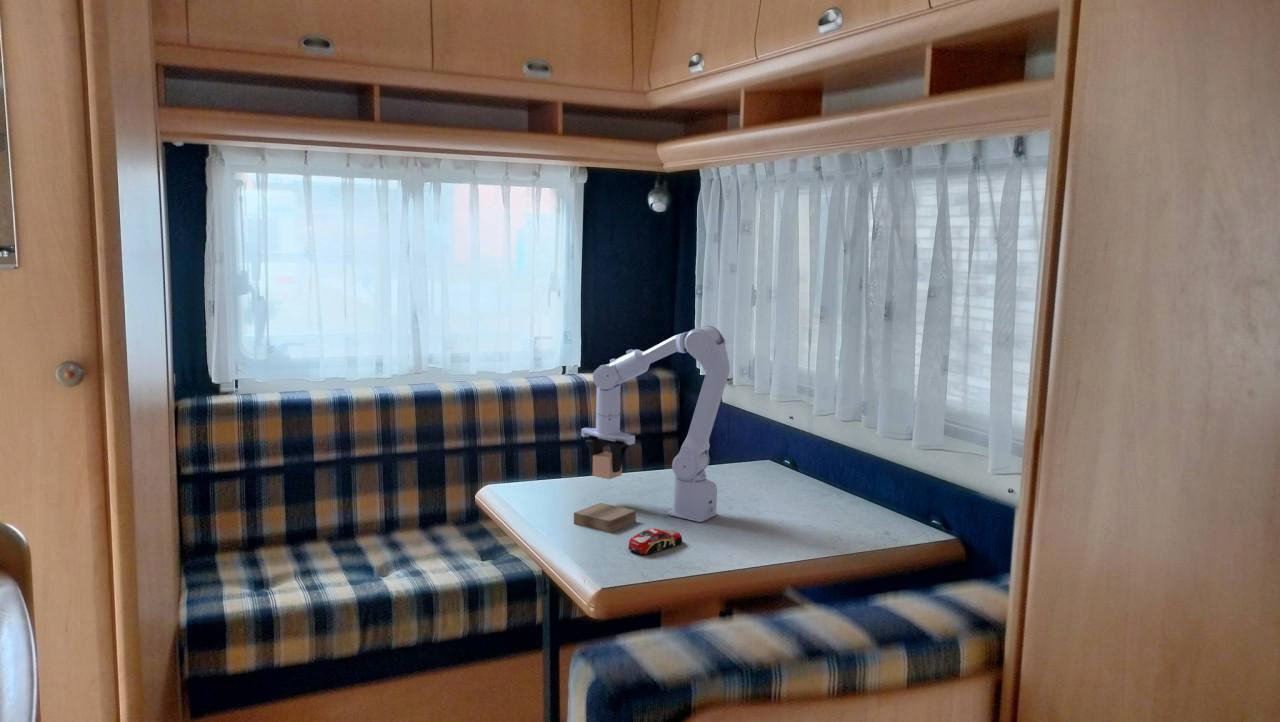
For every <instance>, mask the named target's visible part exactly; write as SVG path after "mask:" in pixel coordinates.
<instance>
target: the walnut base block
mask: <svg viewBox="0 0 1280 722" xmlns="http://www.w3.org/2000/svg"><path fill="white" fill-rule="evenodd" d="M636 522H637V510H635V509H629V508H626V507H621V506H617V505H612V504H608V503H603V502H599V503H597V504H594V505H591V506H588V507H586V508H582V509H580V510H578V511H574V512H573V525H577V526H582V527H585V528H589V529H594V530H598V531H602V532H606V533H612V532H615V531H616V530H620V529H622V528H624V527H626V526H628V525H629V526H630V525H631V524H633V523H636Z"/></svg>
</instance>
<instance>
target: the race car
mask: <svg viewBox="0 0 1280 722" xmlns="http://www.w3.org/2000/svg"><path fill="white" fill-rule="evenodd" d="M682 543H683V536H682V535H681V534H680V532H679V531H676V530H671V529H670V530H669V529H659V528H648V529H645V530H643V531H641V532H639V533H637V534H636V535H634V536H632V537H630V539H629V543H628V550H629V551H632V552H635V553H637V554H642V555H650V554H651V555H653V554H652V553H654V554H655V553H657V552H660V551H664V550H667V549H669V548H674V547H678V546H681V545H682Z"/></svg>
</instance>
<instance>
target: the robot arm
mask: <svg viewBox="0 0 1280 722" xmlns="http://www.w3.org/2000/svg"><path fill="white" fill-rule="evenodd" d="M726 341H727V340H726V339H725V337H724V335H723V334H722V333H721V331H720V330H719V329H718V328H717V327H715V326H713V325H704V326H702V327H699V328H693V329H691V330H689V331H685V332H682V333H679V334H676V335H673V336H671V337H670V338H668V339H665V340H663V341H662V342H660V343H659V344H655V345H654V346H652V347H650V348H648V349H647V350H644V351H642V350H640V349H632V348H631V349H628V350H626V352H625V353H626V354H623V355H622V356H619V357H618V358H612V359H609V363H607V364H601V365H599V366H598V367H597V368H596V369H595V370H594V371H593V374H592V380H593V383H594V385H595V387H596V394H595V395H596V403H595V404H596V405H595V407H596V408H595V411H596V414H595V415H596V416H595V427H594V428H592V427H583V428H581V431H580V433H581V437H583V438H586V437H588V438H587V439H585V441H584V442H585V445H586V447H587V449H588V451H589V453H590V456H591V459H592V461H593V455H596V454H600V453H603V452H604V446H605V441H610V442H613V443H610V444H609V447H610V451H611V452H610V453H612V459H613V472H619V471H620V469H621V465H622V466H623V461H624V458H625V456H626V454H627V452H628V450H629V448H630V447H631V445H634V444H635V443H636V435H635V434H630V433H626V432H623V431H621V385H623V383H626V382H628V381H630V380H632V379H634V378H636V377H638V376H640V375H642V374H644V373H646V372H648V370H649V368H650V365H651V364H653V363H654V362H656V361H659V360H661V359H664V358H666V357H668V356H670V355H672V354H674V353H681V354H686V353H688V354H689V355H690V356H691V357H693V358H694V359H695V360H696V361H697V362H699V364H700V365H701V367H702V368H703V370H704V371H705V375H704V379H703V382H702V384H701V389H700V392H699V396H698V399H697V402H696V404H695V405H696V406H695V409H694V411H693V415H692V419H691V422H690V425H689V429H688V432H687V435H686V437H685V439H684V441H683V443H682V445H681V447H680V450H679V452H678V453H677V455H675V456H674V457H673V460H672V464H671V468H672V472H673V473H674V496H673V498H674V499H673V501H674V502H673V503H674V504H673V505H674V506H673V509H671V510H670V511H668V512H666V515H667V516H671V517H675V518H679V519H684V520H689V521H693V522H698V523H703V522H705V521H707V520H709V519H711V518H712V517H715V516H718V512H717V504H718V503H717V500H718V499H717V498H718V488H717V485H716V484H717V483H716V482H714V481H711V480H709V479H708V478H707V473H706V471H705V469H707V467H708V466H709V464H710V455H709V450H710V446H711V444H710V437H711V434H712V430H713V428H714V424H715V420H716V418H717V414H718V410H719V409H720V405H721V401H722V398H723V394H724V391H725V388H726V384H727V381H728V378H729V376H730V375H729V374H730V371H731V364H730V360H729V357H728V352H727V347H726V343H727V342H726Z"/></svg>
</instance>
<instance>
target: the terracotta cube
mask: <svg viewBox="0 0 1280 722" xmlns="http://www.w3.org/2000/svg"><path fill="white" fill-rule="evenodd" d="M622 471H623V464H622V465H621V469H620V471H619V472H613V459H612V452H610V451H609V452H608V451H603V453H600V454H596V455H593V460H592V476H593V477H596V478H601V479H607V480H612V479H614V478H617V477H620V476H622V474H623V473H622Z"/></svg>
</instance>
